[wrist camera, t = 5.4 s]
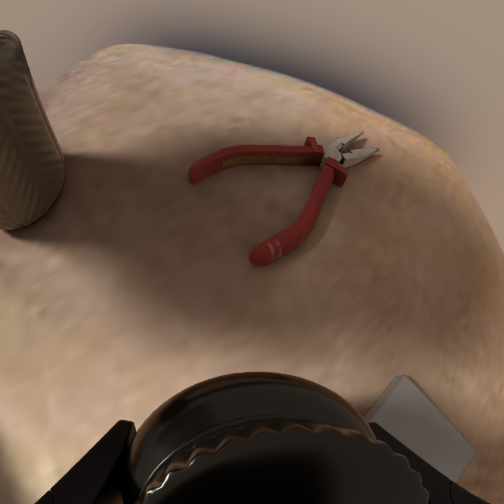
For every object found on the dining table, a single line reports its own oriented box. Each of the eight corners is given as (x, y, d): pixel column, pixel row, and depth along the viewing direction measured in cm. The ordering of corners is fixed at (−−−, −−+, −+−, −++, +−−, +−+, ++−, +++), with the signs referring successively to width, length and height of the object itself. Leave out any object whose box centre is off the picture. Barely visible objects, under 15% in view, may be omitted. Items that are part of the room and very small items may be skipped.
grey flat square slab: (466, 450, 19) (476, 451, 18) (383, 553, 15) (391, 558, 13) (395, 376, 22) (405, 374, 21) (291, 490, 18) (297, 495, 16)
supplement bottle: (173, 374, 15) (73, 307, 4) (308, 386, 15) (487, 340, 4) (162, 498, 11) (80, 644, 1) (297, 506, 12) (434, 627, 1)
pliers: (401, 182, 32) (411, 168, 30) (256, 276, 25) (261, 263, 23) (333, 117, 35) (340, 101, 33) (184, 178, 28) (182, 160, 26)
